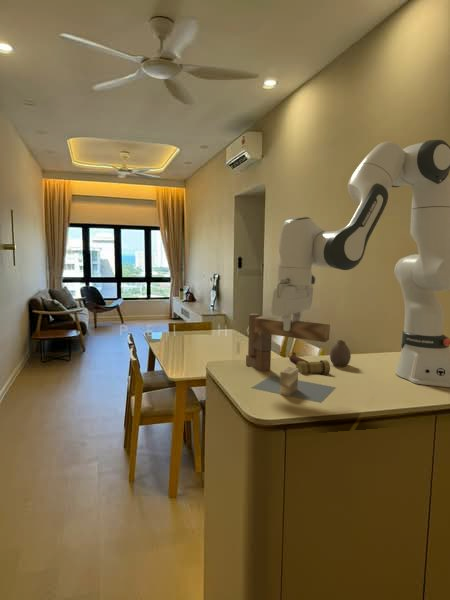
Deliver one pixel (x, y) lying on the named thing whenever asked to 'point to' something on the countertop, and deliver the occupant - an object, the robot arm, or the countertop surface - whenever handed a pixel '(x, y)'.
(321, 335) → the walnut bar
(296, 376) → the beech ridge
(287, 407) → the countertop surface
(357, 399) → the countertop surface
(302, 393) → the slate mat
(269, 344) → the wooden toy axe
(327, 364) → the gavel
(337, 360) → the vase
